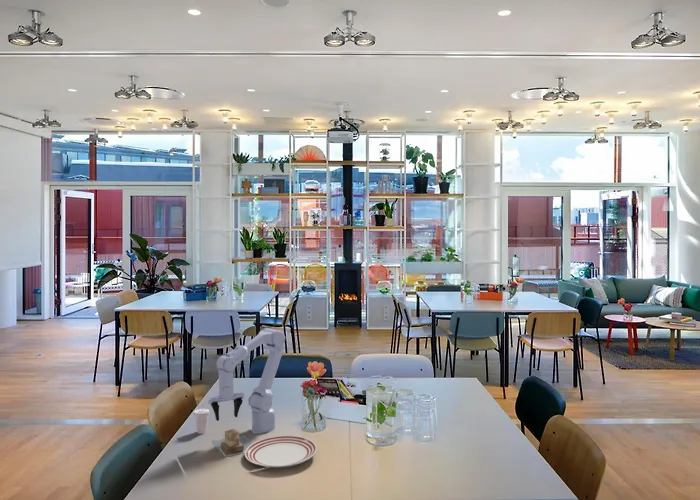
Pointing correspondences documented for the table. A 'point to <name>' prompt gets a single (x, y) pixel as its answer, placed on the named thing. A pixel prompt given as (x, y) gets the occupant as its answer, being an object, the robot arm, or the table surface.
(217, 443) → the build board
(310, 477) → the table surface
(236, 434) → the oak block
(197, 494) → the table surface
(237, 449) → the walnut slab
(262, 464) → the dinner plate
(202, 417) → the smoothie
